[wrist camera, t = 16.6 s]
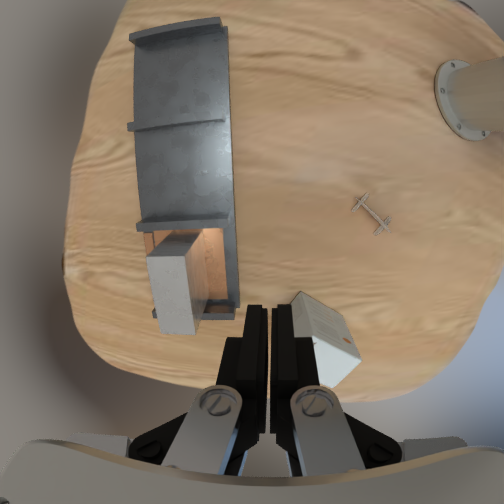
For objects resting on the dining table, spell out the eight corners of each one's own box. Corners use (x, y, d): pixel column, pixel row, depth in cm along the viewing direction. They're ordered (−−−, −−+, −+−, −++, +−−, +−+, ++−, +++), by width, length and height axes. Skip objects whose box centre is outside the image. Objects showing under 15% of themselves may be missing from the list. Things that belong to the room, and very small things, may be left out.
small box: (277, 318, 40) (280, 367, 30) (300, 289, 38) (312, 334, 28) (319, 341, 41) (332, 390, 31) (343, 315, 40) (363, 361, 30)
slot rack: (227, 29, 27) (224, 16, 23) (240, 304, 39) (238, 319, 36) (138, 44, 27) (125, 34, 24) (158, 303, 40) (150, 317, 36)
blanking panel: (202, 230, 35) (184, 256, 26) (209, 295, 38) (195, 335, 29) (171, 231, 35) (145, 256, 26) (180, 295, 38) (161, 333, 29)
